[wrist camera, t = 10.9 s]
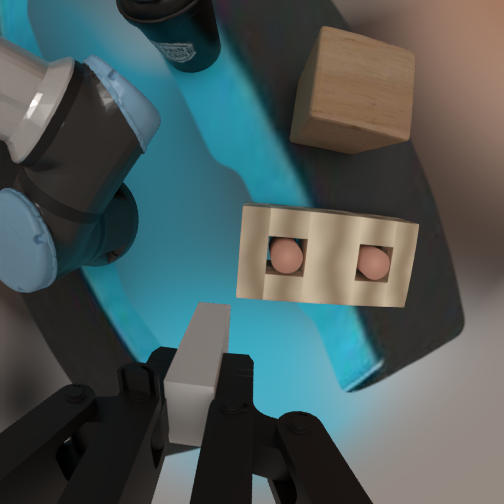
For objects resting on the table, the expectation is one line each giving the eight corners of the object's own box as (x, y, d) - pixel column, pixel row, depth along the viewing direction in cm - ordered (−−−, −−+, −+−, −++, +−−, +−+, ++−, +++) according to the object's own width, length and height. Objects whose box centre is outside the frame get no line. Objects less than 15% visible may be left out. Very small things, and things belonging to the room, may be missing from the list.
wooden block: (353, 155, 46) (410, 142, 27) (288, 142, 46) (309, 116, 27) (360, 95, 44) (416, 51, 25) (297, 81, 44) (321, 23, 24)
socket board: (239, 279, 51) (236, 297, 43) (245, 201, 48) (242, 205, 40) (384, 289, 51) (404, 307, 43) (396, 217, 48) (419, 224, 40)
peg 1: (267, 257, 49) (269, 272, 41) (270, 231, 48) (272, 241, 40) (294, 259, 49) (300, 274, 41) (296, 233, 48) (304, 243, 40)
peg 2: (344, 263, 49) (360, 278, 41) (348, 238, 48) (364, 249, 40) (368, 265, 49) (386, 280, 41) (372, 240, 48) (391, 251, 40)
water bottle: (153, 70, 44) (87, 7, 21) (177, 18, 42) (132, -63, 19) (212, 84, 44) (178, 15, 22) (235, 30, 42) (221, -59, 20)
